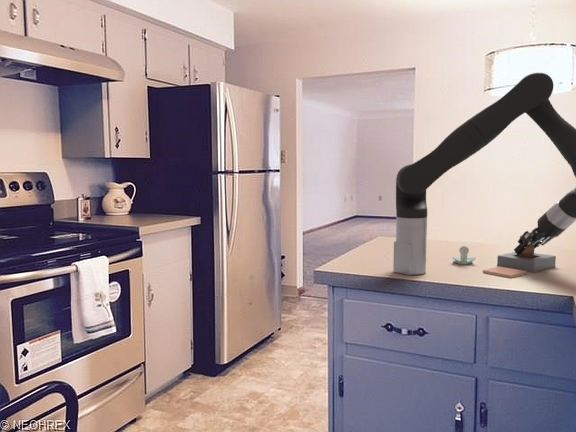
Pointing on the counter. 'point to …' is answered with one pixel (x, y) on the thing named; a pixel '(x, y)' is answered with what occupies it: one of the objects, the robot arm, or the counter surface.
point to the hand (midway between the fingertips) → (521, 251)
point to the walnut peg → (528, 251)
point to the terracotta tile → (505, 272)
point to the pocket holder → (526, 262)
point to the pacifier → (463, 256)
